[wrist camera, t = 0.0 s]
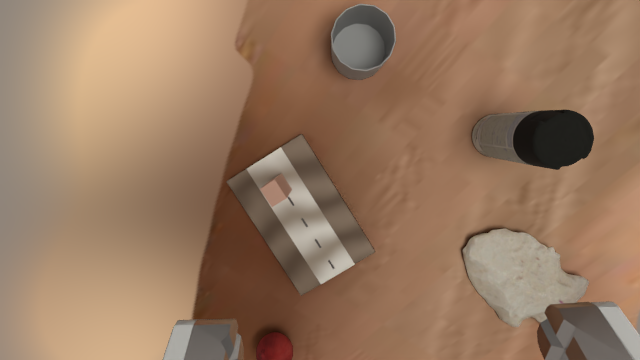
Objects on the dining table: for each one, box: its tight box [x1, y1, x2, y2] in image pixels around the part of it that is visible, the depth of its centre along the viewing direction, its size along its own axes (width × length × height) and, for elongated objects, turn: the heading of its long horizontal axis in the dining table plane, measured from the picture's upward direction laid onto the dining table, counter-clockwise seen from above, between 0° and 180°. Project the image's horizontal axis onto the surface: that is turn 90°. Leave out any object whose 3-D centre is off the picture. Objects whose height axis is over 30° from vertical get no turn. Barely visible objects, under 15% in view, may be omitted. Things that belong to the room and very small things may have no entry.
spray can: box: [472, 110, 594, 170], centre depth 54 cm, size 7×7×20 cm
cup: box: [331, 4, 396, 80], centre depth 58 cm, size 8×8×10 cm
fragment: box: [463, 228, 589, 327], centre depth 65 cm, size 15×20×5 cm
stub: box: [260, 174, 292, 207], centre depth 59 cm, size 3×2×8 cm
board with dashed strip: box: [226, 134, 375, 296], centre depth 65 cm, size 22×14×2 cm, turn 32°
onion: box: [256, 332, 293, 360], centre depth 65 cm, size 6×6×8 cm
